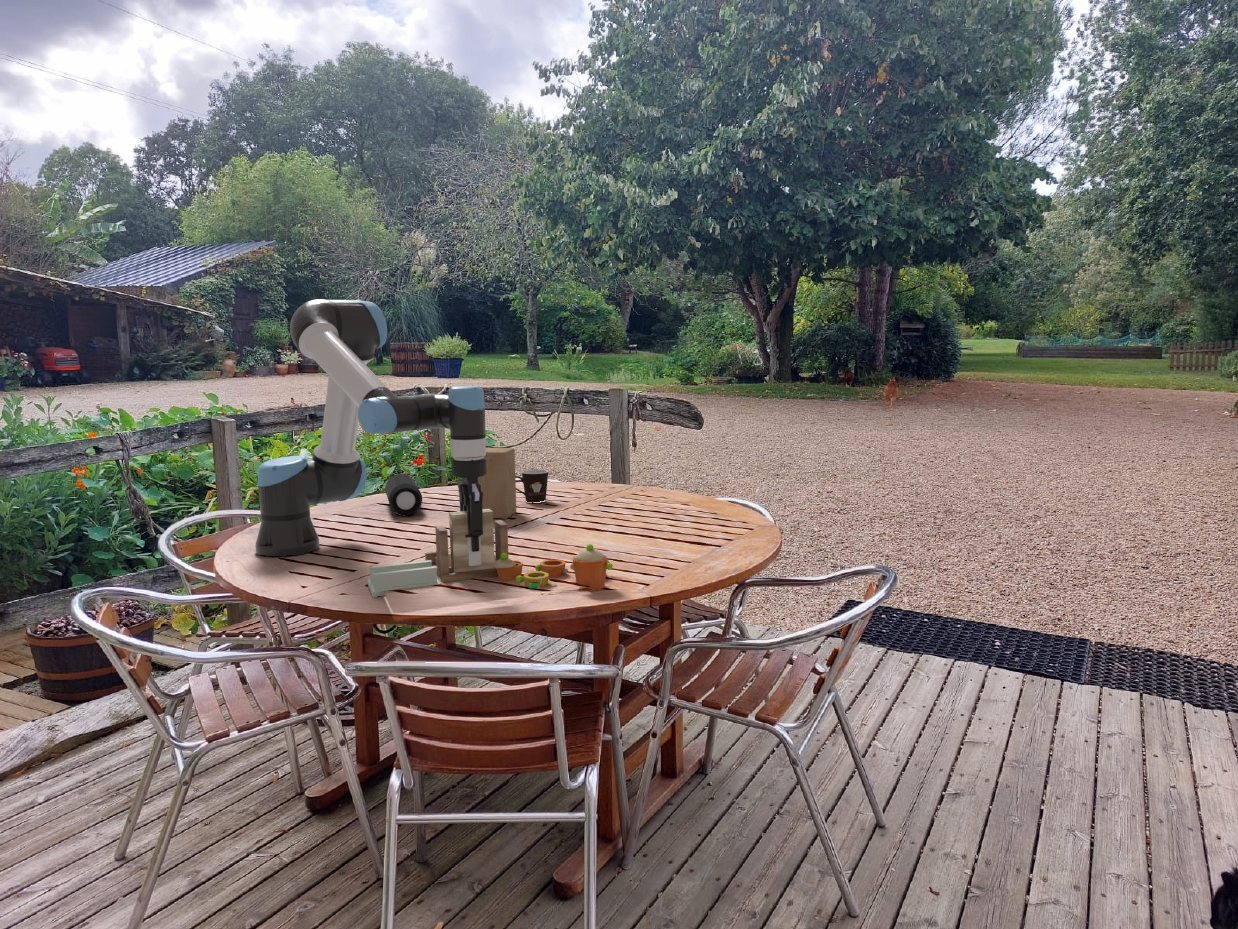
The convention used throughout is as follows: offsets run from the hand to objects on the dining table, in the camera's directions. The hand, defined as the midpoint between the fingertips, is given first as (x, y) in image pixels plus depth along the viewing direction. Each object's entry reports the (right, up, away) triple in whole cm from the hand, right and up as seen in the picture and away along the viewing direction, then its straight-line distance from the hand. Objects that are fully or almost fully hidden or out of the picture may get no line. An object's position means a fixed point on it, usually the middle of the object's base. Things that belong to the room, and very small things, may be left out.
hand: (472, 562), depth 184 cm
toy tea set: (+18, -5, -3) cm, 19 cm away
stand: (-14, -5, -5) cm, 15 cm away
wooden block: (-5, +6, +68) cm, 68 cm away
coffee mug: (+4, +9, +89) cm, 89 cm away
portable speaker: (-35, +7, +79) cm, 87 cm away
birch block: (0, -3, 0) cm, 3 cm away
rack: (-2, -3, +6) cm, 7 cm away
